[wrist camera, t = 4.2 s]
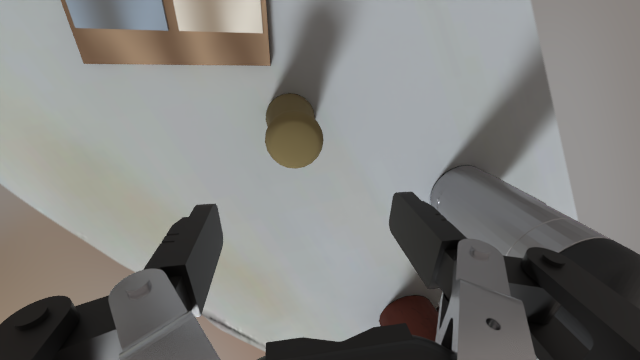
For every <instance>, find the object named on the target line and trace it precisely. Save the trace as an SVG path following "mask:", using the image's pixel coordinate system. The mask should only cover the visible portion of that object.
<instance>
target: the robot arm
mask: <svg viewBox="0 0 640 360" xmlns="http://www.w3.org/2000/svg"><path fill="white" fill-rule="evenodd" d="M431 205H432V206H431ZM431 205H429V204H428V203H426V202H424V201H421V200H420V199H419V198H418V197H417V196H416V195H415V194H414V193H413V192H399V193H395V194H394V196H393V200H392V206H391V213H390V219H389V227H390V231H391V233H392V235H393V236H394V238H395V239H396V241H397V242H398V244H399V245H400V247H401V248H402V250H403V251H404V253H405V255H406V256H407V258H408V259H409V261H410V262H411V264H412V265H413V267H414V268H415V270H416V271H417V273H418V274H419V276H420V277H421V279H422V280H423V282H424V284H425V285H426V287H427V288H428V289H433V288H441V290H442V291H443V292H442V295H441V299H440V308H439V316H438V324H437V333H436V340H435V342H434V341H432V340H429V339H426V338H424V337H420V336H416V335H411V332H410V330H409V328H408V326H407V324H406V323H401V324H394V325H387V326H380V327H373V328H371V329H369V330H367V331H365V332H362V333H360V334H358V335H356V336H354V337H351V338H349V339H347V340H345V341H342V342H335V341H327V340H319V339H311V338H296V339H288V340H281V341H274V342H267V343H266V356H264V357H261V358H259V359H258V360H536V357H535V355H536V356H537V357H538V359H539V360H640V255H639V254H637V253H636V252H634V251H632V250H630V249H628V248H627V247H624V246H623V245H621V244H619V243H617V242H615V241H614V240H611V239H610V238H608V237H606V236H604V235H602V234H600V233H598V232H597V231H594V230H593V229H591V228H589V227H587V226H585V225H583V224H582V223H580V222H578V221H576V220H574V219H572V218H570V217H568V216H566V215H564V214H562V213H561V212H559V211H557V210H555V209H553V208H551V207H549V206H547V205H546V204H545V203H544V202H542V201H540V200H538V199H537V198H535V197H533V196H531V195H529V194H527V193H525V192H523V191H521V190H519V189H518V188H516V187H514V186H512V185H510V184H508V183H506V182H504V181H502V180H501V179H499V178H497V177H495V176H493V175H491V174H489V173H486V172H484V171H482V170H480V169H478V168H476V167H474V166H460V167H456V168H454V169H452V170H450V171H448V172H447V173H445V174H444V175H443V176H442V177H441V178H440V179H439V180H438V181H437V183H436V184H435V186H434V188H433V190H432V193H431ZM222 246H223V233H222V228H221V223H220V218H219V213H218V208H217V205H216V204H203V205H196V206H195V207H194V209H193V211H192V212H191V214H190V216H189V217H183V218H182V219H180V220H179V221H178V222H176V223H175V224H174V225H172V227H171V228H170V230H169V231H168V233H167V236H165V238H164V239H163V241H162V244H160V245H159V247H158V248H157V250H156V251H155V253H154V254H153V256H152V257H151V259H150V260H149V262H148V263H147V265H146V266H145V268H144V269H143V270H141V271H138V272H136V273H133V274H131V275H129V276H128V277H126V278H124V279H123V280H122V281H121V282H119V283H118V284H117V285H116V286H115V287H114V288H113V289H112V291H111V292H110V295H109V296H106V297H103V298H100V299H97V300H93V301H91V302H87V303H84V304H81V305H78V306H74V304H73V303H72V301H71V300H70V298H68V297H66V296H53V297H48V298H45V299H42V300H39V301H36V302H34V303H32V304H30V305H27V306H26V307H24V308H22V309H20V310H19V311H17V312H15V313H14V314H12V315H11V316H10V317H8V318H7V319H6V320H5V321H3V322H2V323H1V324H0V360H220V358H219V356H218V355H217V353H216V351H215V349H214V348H213V346H212V344H211V343H210V341H209V340H208V338H207V337H206V335H205V333H204V331H203V329H202V328H201V326H200V324H199V323H198V321H197V319H196V318H195V317H198V316H201V314H202V311H203V308H204V304H205V301H206V298H207V295H208V291H209V288H210V285H211V282H212V279H213V275H214V272H215V269H216V266H217V263H218V259H219V256H220V253H221V250H222Z"/></svg>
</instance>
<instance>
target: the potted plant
mask: <svg viewBox="0 0 640 360" xmlns="http://www.w3.org/2000/svg"><path fill="white" fill-rule="evenodd" d="M438 304H439V307H438V308H437V310H436V309H435V308H434V306H433V305H432V303H431V302H430V301H429V300H428V299H427V298H425V297H423V296H417V295H413V296H406V297H403V298H400V299H397V300H396V301H394V302H392V303H391V304H389V305H388V306H387V307H386V308H385V309H384V310H383V312H382V313H381V315H380V320H379V322H380V325H381V326H387V325H394V324H401V323H406V324H407V326H408V328H409V330H410V332H411V335H416V336H420V337H424V338H426V339H429V340H432V341H434V342H435V340H436V333H437V324H438V316H439V308H440V303H438Z"/></svg>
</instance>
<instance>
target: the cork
mask: <svg viewBox="0 0 640 360" xmlns="http://www.w3.org/2000/svg"><path fill="white" fill-rule="evenodd" d="M266 122H267V126H268V128H267V131H266V137H265V143H266V147H267V151H268V152H269V154H270V155H271V157H272V158H273V159H274V160H275V161H276V162H277V163H279V164H280V165H282V166H285V167H287V168H301V167H305V166H307V165H309V164H311V163H312V162H313V161H314V160H315V159H316V158H317V157H318V155H319V153H320V152H321V150H322V145H323V134H322V130H321V128H320V126H319V124H318V122H317V121H316V120H315V117H314V111H313V109H312V107H311V105H310V103H309V102H308V101H307V100H306V99H305V98H303V97H301V96H299V95H297V94H291V93H288V94H283V95H280V96H278V97H277V98H275V99H274V100H273V101H272V102H271V103H270V104H269V107H268V109H267V112H266Z"/></svg>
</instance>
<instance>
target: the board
mask: <svg viewBox="0 0 640 360" xmlns="http://www.w3.org/2000/svg"><path fill="white" fill-rule="evenodd" d="M61 2H62V5H63V8H64V11H65V13H66V16H67V19H68V22H69V24H70V27H71V30H72V33H73V35H74V38H75V41H76V43H77V46H78V49H79V52H80V54H81V57H82V60H83V63H84V64H164V65H258V66H271V64H270V50H269V35H268V21H267V6H266V0H61Z"/></svg>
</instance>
